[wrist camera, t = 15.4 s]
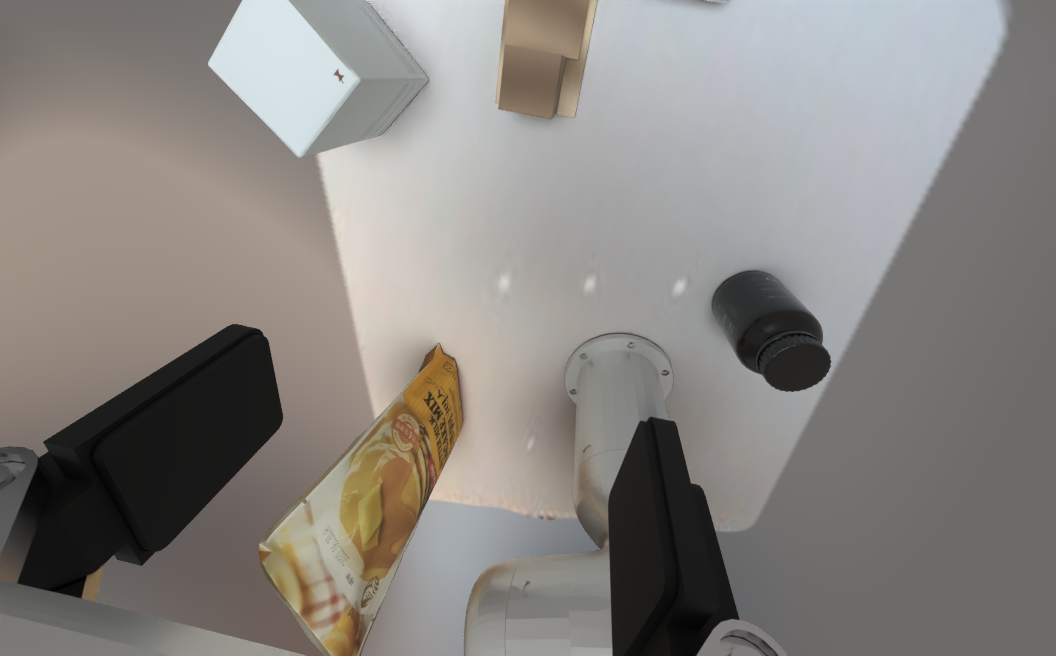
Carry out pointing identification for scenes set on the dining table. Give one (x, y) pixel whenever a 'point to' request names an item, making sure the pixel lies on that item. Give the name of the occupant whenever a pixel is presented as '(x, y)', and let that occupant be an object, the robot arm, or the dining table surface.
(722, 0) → the tile
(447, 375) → the pancake mix bag
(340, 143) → the supplement box
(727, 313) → the supplement bottle
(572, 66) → the pad
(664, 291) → the dining table surface
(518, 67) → the wooden block stack
